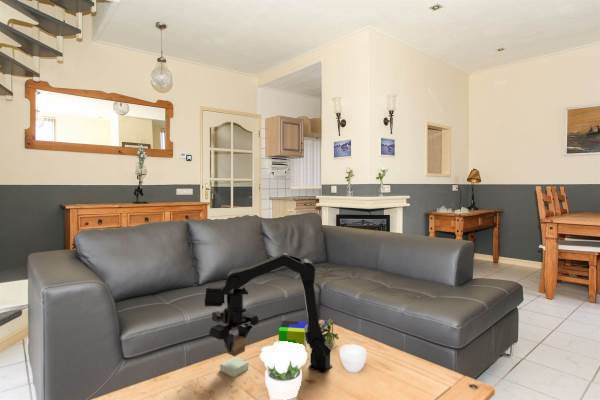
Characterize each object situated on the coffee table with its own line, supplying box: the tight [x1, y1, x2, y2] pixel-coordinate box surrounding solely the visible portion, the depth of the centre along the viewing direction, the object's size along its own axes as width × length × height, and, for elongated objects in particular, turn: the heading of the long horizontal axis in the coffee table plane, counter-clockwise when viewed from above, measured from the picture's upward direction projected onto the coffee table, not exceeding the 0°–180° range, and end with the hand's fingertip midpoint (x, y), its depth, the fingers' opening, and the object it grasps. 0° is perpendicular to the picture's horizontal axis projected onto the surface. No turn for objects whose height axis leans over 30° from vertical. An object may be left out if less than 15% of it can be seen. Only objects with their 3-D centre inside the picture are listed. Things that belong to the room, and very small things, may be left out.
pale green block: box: [219, 356, 249, 378], centre depth 131 cm, size 7×7×2 cm
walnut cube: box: [224, 333, 246, 357], centre depth 130 cm, size 5×5×5 cm
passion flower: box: [318, 318, 340, 345], centre depth 155 cm, size 11×11×12 cm
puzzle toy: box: [278, 320, 308, 348], centre depth 146 cm, size 10×10×10 cm
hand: (234, 348), depth 130 cm, fingers closed on walnut cube, 5 cm apart
